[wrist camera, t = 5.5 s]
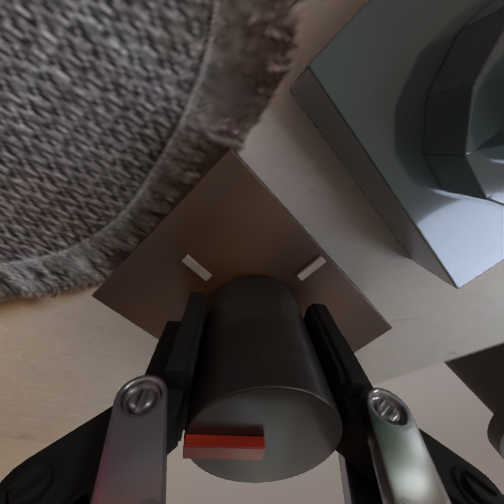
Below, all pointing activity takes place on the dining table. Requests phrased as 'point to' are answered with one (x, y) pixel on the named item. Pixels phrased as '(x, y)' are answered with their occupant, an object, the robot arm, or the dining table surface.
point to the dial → (259, 388)
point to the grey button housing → (420, 124)
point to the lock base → (233, 257)
